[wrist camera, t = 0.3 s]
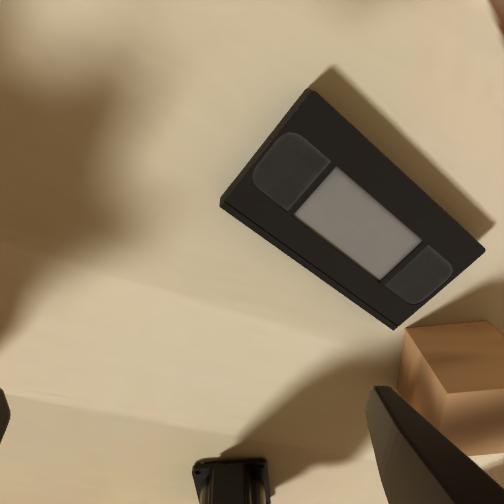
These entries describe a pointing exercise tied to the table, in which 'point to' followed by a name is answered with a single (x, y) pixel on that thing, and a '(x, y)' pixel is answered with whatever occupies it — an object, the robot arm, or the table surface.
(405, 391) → the walnut cube
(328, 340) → the table surface
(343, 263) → the vhs tape
